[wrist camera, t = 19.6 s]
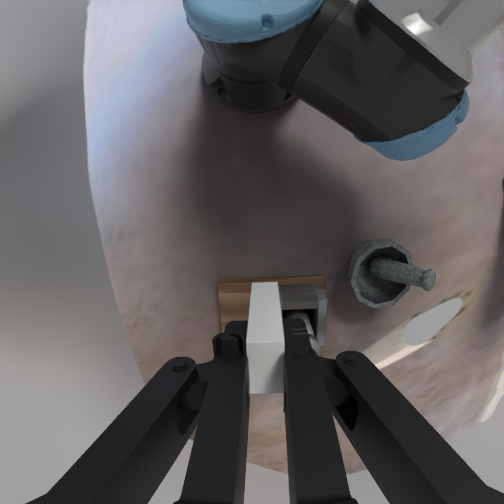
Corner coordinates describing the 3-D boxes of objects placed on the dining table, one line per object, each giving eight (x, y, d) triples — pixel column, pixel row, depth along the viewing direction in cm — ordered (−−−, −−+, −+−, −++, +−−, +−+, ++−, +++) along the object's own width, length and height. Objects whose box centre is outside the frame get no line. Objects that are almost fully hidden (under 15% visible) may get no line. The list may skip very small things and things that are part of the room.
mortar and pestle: (340, 294, 45) (362, 331, 34) (336, 236, 43) (360, 259, 32) (403, 282, 45) (437, 312, 33) (402, 226, 42) (441, 245, 31)
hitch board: (219, 278, 45) (210, 300, 38) (323, 275, 45) (335, 295, 37) (229, 380, 51) (224, 409, 43) (316, 377, 50) (323, 406, 42)
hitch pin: (306, 291, 46) (322, 338, 32) (305, 314, 47) (319, 365, 33) (280, 292, 46) (287, 340, 32) (280, 315, 47) (286, 367, 33)
